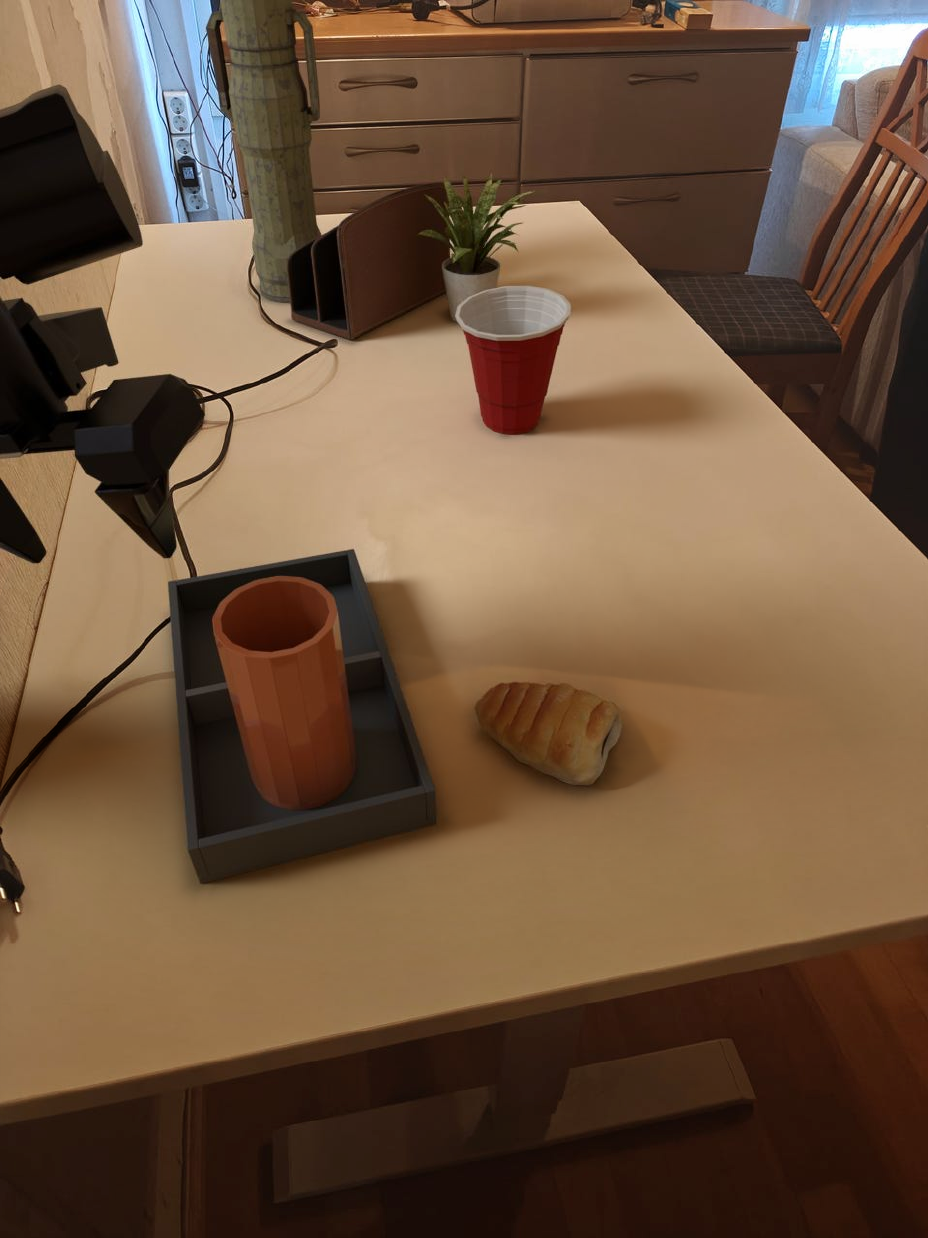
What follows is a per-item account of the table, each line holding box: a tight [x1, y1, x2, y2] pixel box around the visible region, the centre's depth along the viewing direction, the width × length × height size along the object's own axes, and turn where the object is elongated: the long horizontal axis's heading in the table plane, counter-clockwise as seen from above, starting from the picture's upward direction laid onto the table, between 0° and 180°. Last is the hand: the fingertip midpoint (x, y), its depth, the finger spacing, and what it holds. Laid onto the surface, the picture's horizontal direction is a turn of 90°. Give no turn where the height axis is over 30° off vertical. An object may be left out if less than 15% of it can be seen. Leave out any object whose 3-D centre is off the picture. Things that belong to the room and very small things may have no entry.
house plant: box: [419, 171, 539, 323], centre depth 102 cm, size 14×14×16 cm
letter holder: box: [286, 181, 451, 341], centre depth 106 cm, size 10×20×14 cm, turn 144°
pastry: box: [474, 681, 623, 786], centre depth 56 cm, size 9×7×4 cm
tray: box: [167, 548, 438, 884], centre depth 58 cm, size 14×24×3 cm, turn 17°
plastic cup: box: [455, 285, 572, 435], centre depth 85 cm, size 11×11×12 cm
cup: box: [212, 576, 356, 810], centre depth 51 cm, size 6×6×13 cm
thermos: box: [205, 0, 322, 304], centre depth 103 cm, size 9×12×35 cm
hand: (104, 555), depth 52 cm, fingers open, 9 cm apart
